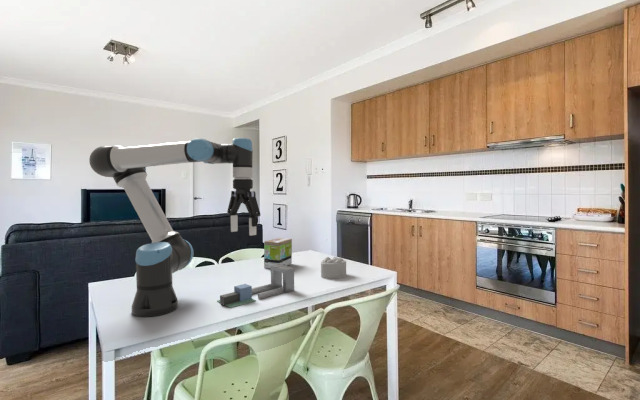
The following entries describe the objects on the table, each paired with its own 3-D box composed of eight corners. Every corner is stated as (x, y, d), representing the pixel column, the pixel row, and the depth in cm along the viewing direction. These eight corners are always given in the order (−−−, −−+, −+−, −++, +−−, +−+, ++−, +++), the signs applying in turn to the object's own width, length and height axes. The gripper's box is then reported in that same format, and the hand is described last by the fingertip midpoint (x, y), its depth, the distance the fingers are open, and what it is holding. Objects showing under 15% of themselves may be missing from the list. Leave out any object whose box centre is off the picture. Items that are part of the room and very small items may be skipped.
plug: (225, 305, 126) (224, 292, 126) (219, 302, 129) (218, 289, 129) (251, 298, 134) (251, 286, 134) (245, 296, 137) (245, 283, 137)
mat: (230, 308, 125) (230, 307, 125) (217, 301, 132) (217, 300, 132) (255, 300, 132) (255, 300, 132) (242, 294, 140) (242, 294, 140)
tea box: (280, 270, 181) (280, 242, 180) (263, 268, 184) (263, 241, 184) (292, 263, 195) (292, 238, 194) (276, 262, 198) (276, 237, 198)
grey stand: (260, 299, 134) (260, 275, 133) (246, 293, 141) (245, 270, 141) (294, 290, 145) (294, 268, 145) (279, 285, 153) (279, 264, 153)
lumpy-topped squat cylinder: (349, 275, 170) (349, 258, 170) (331, 280, 161) (331, 262, 160) (333, 271, 177) (333, 255, 177) (315, 276, 168) (315, 258, 168)
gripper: (269, 178, 126) (269, 235, 127) (234, 179, 144) (235, 229, 145) (252, 178, 121) (252, 237, 122) (218, 179, 139) (218, 230, 140)
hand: (243, 233), depth 133 cm, fingers open, 13 cm apart
